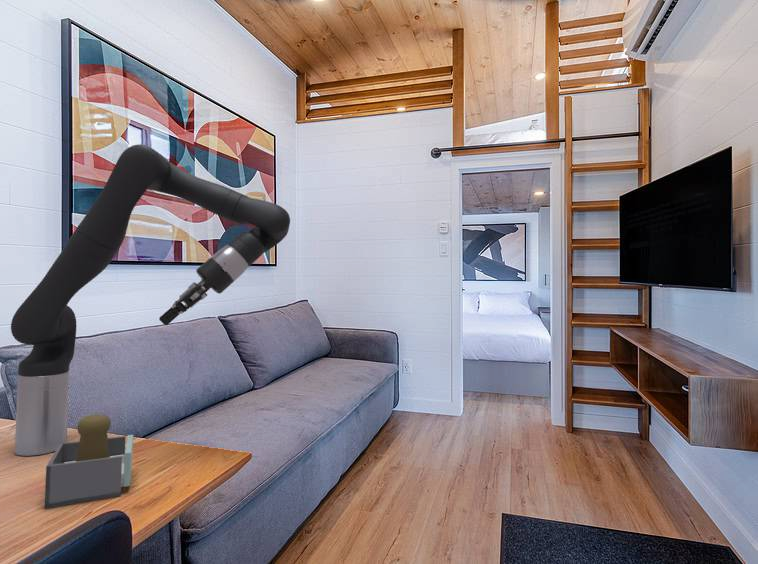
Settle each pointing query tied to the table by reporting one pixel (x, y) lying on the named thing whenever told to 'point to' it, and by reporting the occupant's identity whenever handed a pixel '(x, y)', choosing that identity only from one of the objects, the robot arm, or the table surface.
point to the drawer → (125, 462)
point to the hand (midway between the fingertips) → (162, 322)
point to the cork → (93, 437)
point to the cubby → (83, 475)
